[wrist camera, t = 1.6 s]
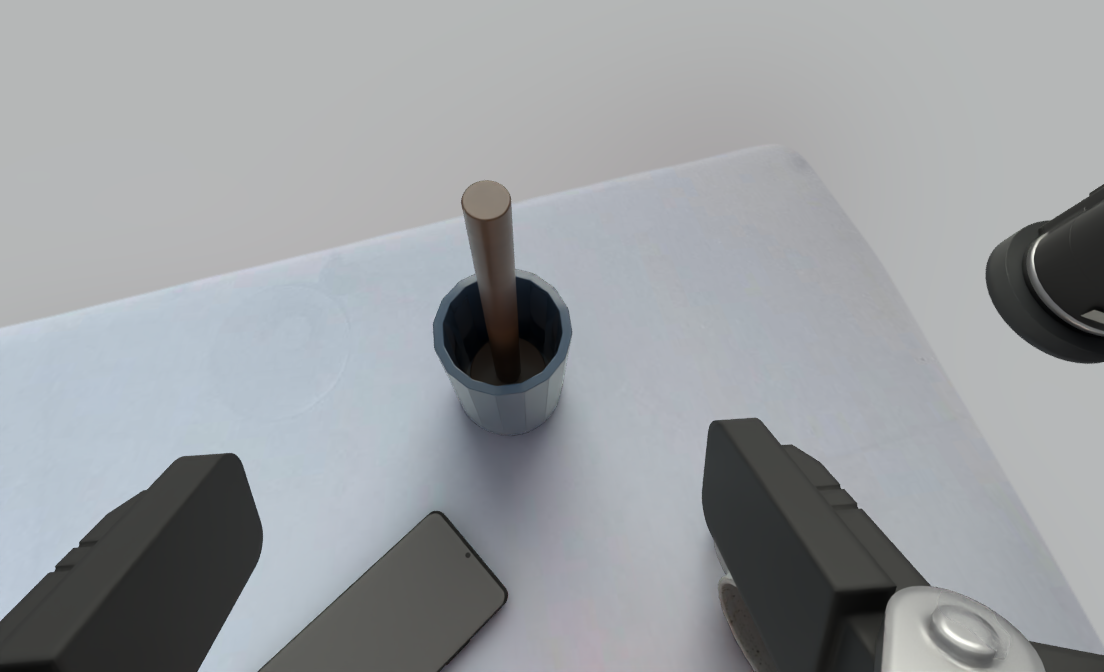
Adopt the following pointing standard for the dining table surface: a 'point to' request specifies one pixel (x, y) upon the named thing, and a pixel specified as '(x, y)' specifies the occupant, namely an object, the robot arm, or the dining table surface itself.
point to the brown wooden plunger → (497, 287)
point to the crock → (466, 333)
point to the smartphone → (402, 609)
